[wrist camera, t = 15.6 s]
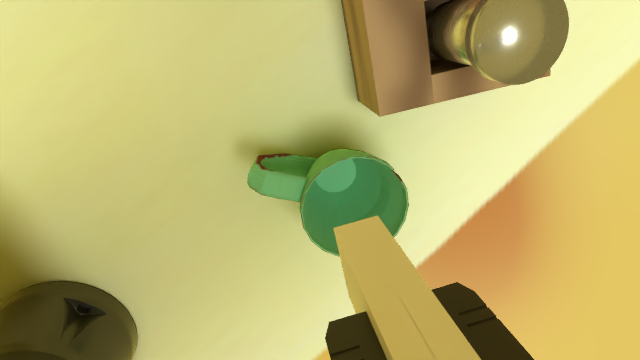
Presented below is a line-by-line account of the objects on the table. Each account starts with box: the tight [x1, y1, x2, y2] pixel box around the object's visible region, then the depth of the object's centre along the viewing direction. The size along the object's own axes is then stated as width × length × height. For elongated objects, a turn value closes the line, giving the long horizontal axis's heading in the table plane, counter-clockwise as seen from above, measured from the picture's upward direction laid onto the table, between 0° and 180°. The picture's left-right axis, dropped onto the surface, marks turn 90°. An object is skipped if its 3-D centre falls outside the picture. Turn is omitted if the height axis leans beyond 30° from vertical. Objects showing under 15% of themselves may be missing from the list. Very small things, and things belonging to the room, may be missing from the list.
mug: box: [248, 149, 409, 256], centre depth 42 cm, size 15×10×10 cm
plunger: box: [426, 0, 569, 85], centre depth 32 cm, size 6×6×11 cm
